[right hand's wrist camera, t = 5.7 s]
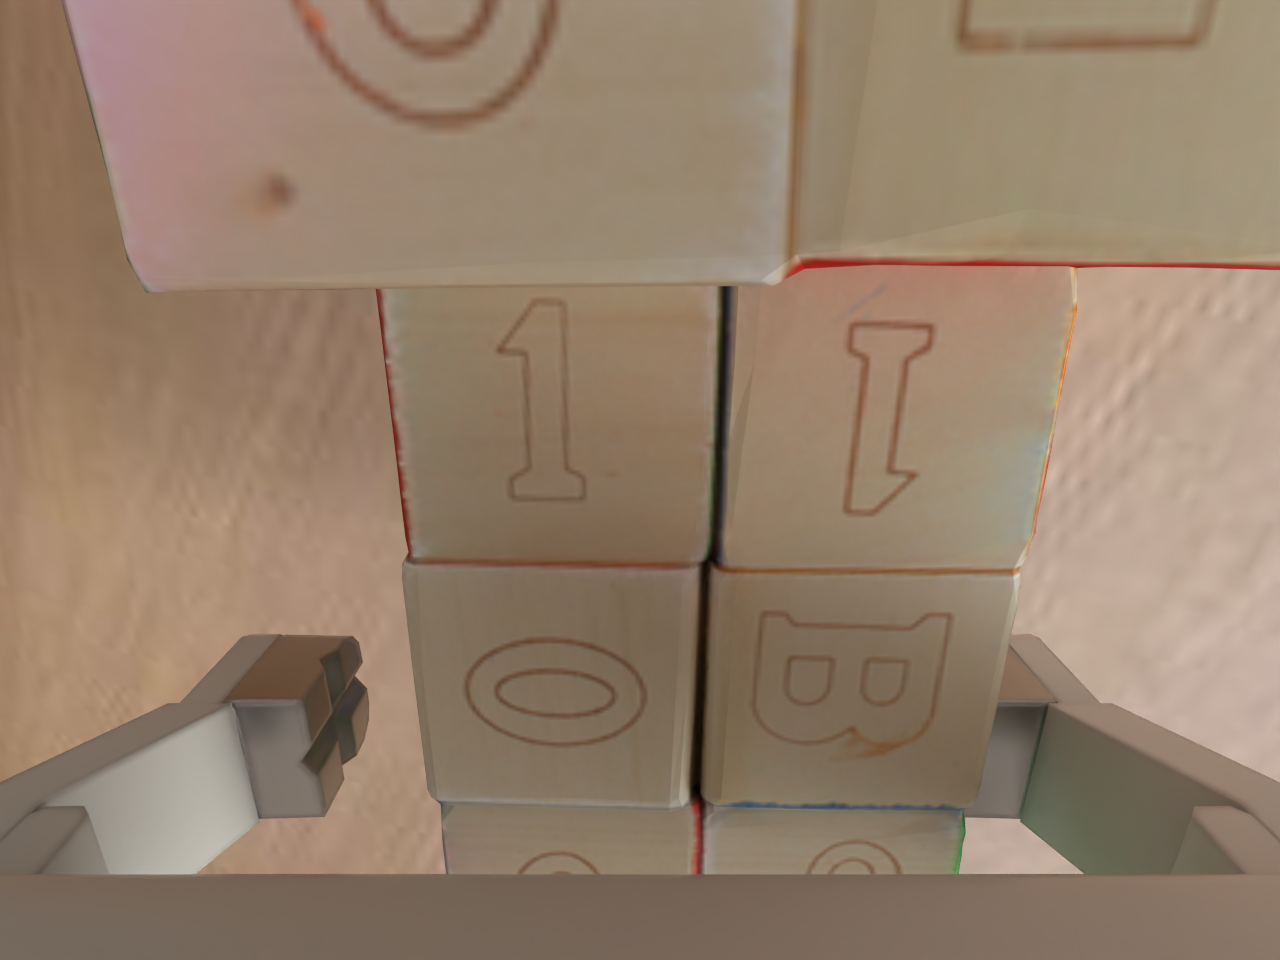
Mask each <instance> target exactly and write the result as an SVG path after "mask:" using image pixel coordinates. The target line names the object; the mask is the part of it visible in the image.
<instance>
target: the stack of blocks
mask: <svg viewBox="0 0 1280 960" xmlns="http://www.w3.org/2000/svg"><path fill="white" fill-rule="evenodd" d="M62 4H63V8H64V12H65V16H66V20H67V24H68V28H69V32H70V35H71V39H72V43H73V47H74V50H75V54H76V58H77V61H78V65H79V69H80V73H81V76H82V80H83V84H84V88H85V91H86V95H87V99H88V102H89V106H90V110H91V114H92V117H93V121H94V125H95V128H96V132H97V136H98V140H99V143H100V147H101V151H102V154H103V158H104V162H105V166H106V169H107V173H108V177H109V181H110V184H111V189H112V193H113V197H114V201H115V206H116V210H117V214H118V219H119V223H120V228H121V232H122V237H123V241H124V246H125V250H126V255H127V260H128V261H129V263H130V265H131V267H132V268H133V270H134V272H135V274H136V275H137V277H138V279H139V281H140V282H141V284H142V286H143V288H144V289H145V291H146V293H148V292H185V291H223V290H323V289H376V294H377V302H378V310H379V318H380V326H381V334H382V343H383V351H384V360H385V368H386V377H387V385H388V393H389V401H390V409H391V418H392V426H393V434H394V442H395V451H396V459H397V468H398V477H399V486H400V495H401V504H402V513H403V521H404V529H405V536H406V542H407V546H408V551H409V553H408V554H407V556H406V558H405V560H404V562H403V563H402V581H403V590H404V598H405V607H406V616H407V624H408V633H409V641H410V650H411V659H412V667H413V676H414V684H415V691H416V699H417V707H418V715H419V723H420V731H421V739H422V747H423V755H424V763H425V771H426V779H427V787H428V791H429V793H430V795H431V797H432V798H434V799H435V800H436V801H438V802H439V803H440V804H441V818H442V839H443V849H444V858H445V867H446V874H958V873H959V867H960V861H961V855H962V845H963V841H964V837H965V833H966V832H965V818H964V809H965V808H968V807H970V806H971V805H972V804H973V803H974V802H975V801H976V799H977V796H978V793H979V790H980V786H981V781H982V775H983V770H984V764H985V758H986V753H987V749H988V744H989V740H990V735H991V731H992V727H993V722H994V718H995V714H996V709H997V703H998V698H999V693H1000V688H1001V682H1002V677H1003V672H1004V666H1005V661H1006V656H1007V651H1008V645H1009V641H1010V636H1011V632H1012V628H1013V624H1014V619H1015V615H1016V611H1017V606H1018V600H1019V594H1020V588H1021V585H1020V574H1019V569H1020V567H1021V565H1022V563H1023V562H1024V560H1025V558H1026V557H1027V555H1028V552H1029V549H1030V546H1031V542H1032V540H1033V537H1034V535H1035V532H1036V522H1037V515H1038V511H1039V507H1040V502H1041V498H1042V493H1043V488H1044V483H1045V478H1046V473H1047V468H1048V463H1049V458H1050V453H1051V448H1052V442H1053V436H1054V430H1055V424H1056V418H1057V413H1058V407H1059V401H1060V396H1061V390H1062V385H1063V379H1064V374H1065V369H1066V363H1067V358H1068V352H1069V347H1070V342H1071V337H1072V332H1073V327H1074V321H1075V316H1076V311H1077V268H1086V267H1191V268H1228V269H1265V270H1280V0H62Z"/></svg>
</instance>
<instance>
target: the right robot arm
mask: <svg viewBox="0 0 1280 960" xmlns="http://www.w3.org/2000/svg"><path fill="white" fill-rule="evenodd" d="M362 663H363V661H362V656H361V651H360V646H359V642H358V641H357V640H356V639H355V638H354V637H353V636H322V635H284V636H283V635H281V634H269V635H248V636H244V637H242V638H241V639H240V640H239V641H238V642H237V643H236V644H235V645H234V646H233V647H232V648H231V649H230V650H229V651H228V652H227V653H226V654H225V656H224V657H223V658H222V659H221V660H220V661H219V662H218V663H217V664H216V665H215V666H214V667H213V668H212V669H211V670H210V671H209V673H208V674H207V675H206V676H205V677H204V678H203V679H202V680H201V681H200V682H199V683H198V684H197V685H196V686H195V687H194V688H193V690H192V691H191V692H190V693H189V694H188V695H187V696H186V697H185V698H184V699H183V700H182V701H181V702H180V703H171V704H166V705H164V706H161V707H159V708H157V709H155V710H153V711H151V712H149V713H147V714H144V715H142V716H140V717H138V718H136V719H134V720H132V721H130V722H127V723H125V724H123V725H121V726H119V727H117V728H115V729H113V730H110V731H108V732H106V733H104V734H102V735H100V736H98V737H96V738H93V739H91V740H89V741H87V742H85V743H83V744H81V745H79V746H76V747H74V748H72V749H70V750H68V751H66V752H64V753H62V754H59V755H57V756H55V757H53V758H51V759H49V760H47V761H45V762H43V763H40V764H38V765H36V766H34V767H32V768H30V769H28V770H26V771H23V772H21V773H19V774H17V775H15V776H13V777H11V778H9V779H6V780H4V781H2V782H0V960H1280V783H1279V782H1277V781H1275V780H1273V779H1271V778H1269V777H1267V776H1265V775H1263V774H1260V773H1258V772H1256V771H1254V770H1252V769H1250V768H1248V767H1246V766H1243V765H1241V764H1239V763H1237V762H1235V761H1233V760H1231V759H1229V758H1227V757H1224V756H1222V755H1220V754H1218V753H1216V752H1214V751H1212V750H1210V749H1207V748H1205V747H1203V746H1201V745H1199V744H1197V743H1195V742H1193V741H1191V740H1188V739H1186V738H1184V737H1182V736H1180V735H1178V734H1176V733H1174V732H1171V731H1169V730H1167V729H1165V728H1163V727H1161V726H1159V725H1157V724H1155V723H1152V722H1150V721H1148V720H1146V719H1144V718H1142V717H1140V716H1138V715H1135V714H1133V713H1131V712H1129V711H1127V710H1125V709H1123V708H1121V707H1119V706H1116V705H1114V704H1110V703H1100V702H1099V701H1098V700H1097V699H1096V698H1095V697H1094V696H1093V695H1092V694H1091V693H1090V692H1089V691H1088V690H1087V688H1086V687H1085V686H1084V685H1083V684H1082V683H1081V682H1080V681H1079V680H1078V679H1077V678H1076V677H1075V676H1074V675H1073V674H1072V672H1071V671H1070V670H1069V669H1068V668H1067V667H1066V666H1065V665H1064V664H1063V663H1062V662H1061V661H1060V660H1059V659H1058V658H1057V656H1056V655H1055V654H1054V653H1053V652H1052V651H1051V650H1050V649H1049V648H1048V647H1047V646H1046V645H1045V644H1044V643H1043V642H1042V641H1041V639H1040V638H1038V637H1036V636H1033V635H1031V634H1017V635H1011V636H1010V641H1009V645H1008V651H1007V656H1006V661H1005V666H1004V672H1003V677H1002V682H1001V688H1000V693H999V698H998V703H997V709H996V714H995V718H994V722H993V727H992V731H991V735H990V740H989V744H988V749H987V753H986V758H985V764H984V770H983V775H982V781H981V786H980V790H979V793H978V796H977V799H976V801H975V802H974V803H973V804H972V805H971V806H970V807H968V808H965V809H964V817H975V818H1011V819H1021V821H1020V822H1021V823H1023V824H1024V825H1025V826H1026V827H1028V828H1029V829H1030V830H1031V831H1032V832H1034V833H1035V834H1036V835H1037V836H1039V837H1040V838H1041V839H1042V840H1044V841H1045V842H1046V843H1047V844H1048V845H1050V846H1051V847H1052V848H1053V849H1055V850H1056V851H1057V852H1058V853H1060V854H1061V855H1062V856H1063V857H1064V858H1066V859H1067V860H1068V861H1069V862H1071V863H1072V864H1073V865H1074V866H1076V867H1077V868H1078V869H1079V870H1080V871H1082V872H1083V873H1084V874H196V873H197V872H198V871H200V870H201V869H202V868H203V867H205V866H206V865H207V864H208V863H210V862H211V861H212V860H213V859H215V858H216V857H217V856H218V855H219V854H221V853H222V852H223V851H224V850H226V849H227V848H228V847H229V846H231V845H232V844H233V843H234V842H236V841H237V840H238V839H239V838H240V837H242V836H243V835H244V834H245V833H247V832H248V831H249V830H250V829H252V828H253V827H254V826H255V825H256V824H258V823H259V819H269V818H303V817H325V815H326V813H327V811H328V809H329V808H330V806H331V804H332V802H333V800H334V798H335V796H336V794H337V792H338V790H339V789H340V787H341V785H342V783H343V781H344V774H343V768H342V765H343V764H345V763H346V762H348V761H349V760H351V759H352V758H354V757H355V756H357V754H358V752H359V750H360V748H361V746H362V744H363V742H364V739H365V734H366V730H367V725H368V721H369V700H368V693H367V688H366V687H365V686H364V685H363V684H362V683H361V682H360V681H359V680H358V679H357V678H356V677H355V674H356V673H357V671H358V669H359V668H360V666H361V664H362Z"/></svg>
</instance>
